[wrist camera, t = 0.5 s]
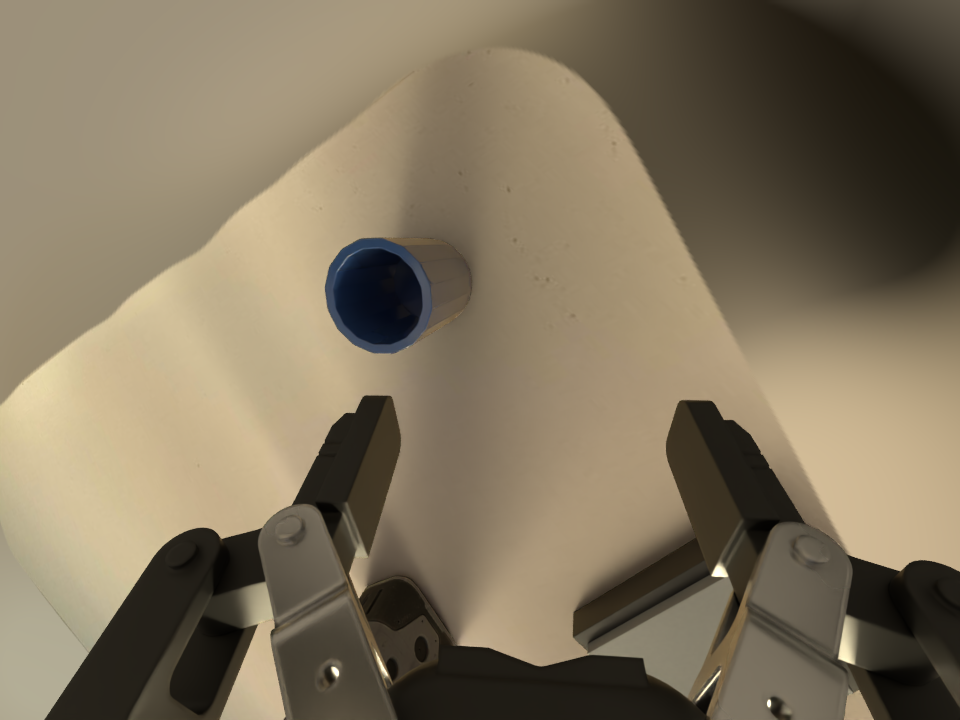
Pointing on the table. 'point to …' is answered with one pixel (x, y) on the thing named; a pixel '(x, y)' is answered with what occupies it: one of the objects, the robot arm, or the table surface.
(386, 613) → the electronic device
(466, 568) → the table surface
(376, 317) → the cup
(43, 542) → the table surface
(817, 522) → the table surface
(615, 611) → the kitchen scale
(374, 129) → the table surface
